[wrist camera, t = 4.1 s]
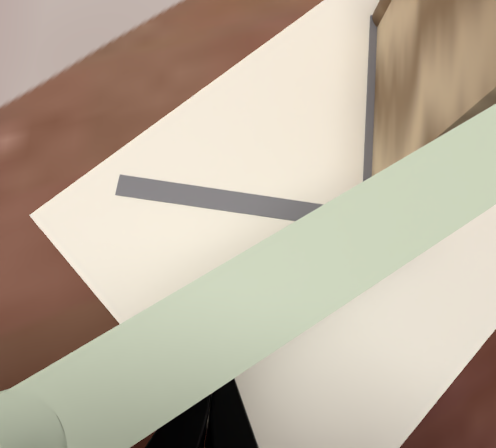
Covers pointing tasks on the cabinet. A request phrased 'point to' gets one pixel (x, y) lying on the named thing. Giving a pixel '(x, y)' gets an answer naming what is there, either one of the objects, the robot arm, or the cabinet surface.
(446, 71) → the brown flat square block
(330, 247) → the folding fence panel
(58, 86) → the cabinet surface
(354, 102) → the card
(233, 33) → the cabinet surface
